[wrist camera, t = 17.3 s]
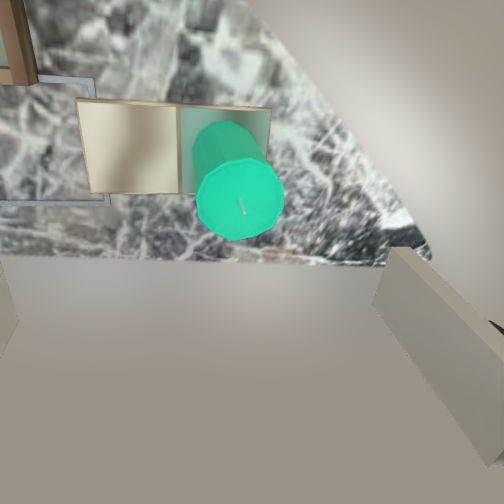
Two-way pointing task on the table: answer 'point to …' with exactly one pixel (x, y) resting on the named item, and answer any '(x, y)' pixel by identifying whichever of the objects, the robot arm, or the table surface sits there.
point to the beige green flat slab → (152, 142)
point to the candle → (234, 182)
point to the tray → (16, 46)
